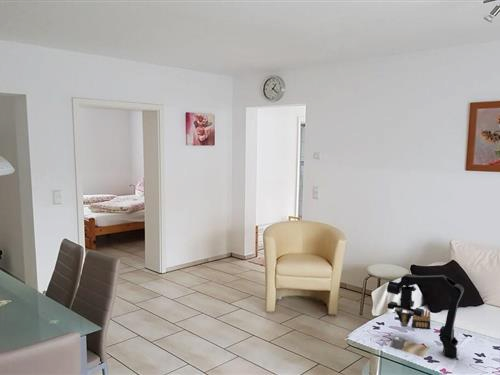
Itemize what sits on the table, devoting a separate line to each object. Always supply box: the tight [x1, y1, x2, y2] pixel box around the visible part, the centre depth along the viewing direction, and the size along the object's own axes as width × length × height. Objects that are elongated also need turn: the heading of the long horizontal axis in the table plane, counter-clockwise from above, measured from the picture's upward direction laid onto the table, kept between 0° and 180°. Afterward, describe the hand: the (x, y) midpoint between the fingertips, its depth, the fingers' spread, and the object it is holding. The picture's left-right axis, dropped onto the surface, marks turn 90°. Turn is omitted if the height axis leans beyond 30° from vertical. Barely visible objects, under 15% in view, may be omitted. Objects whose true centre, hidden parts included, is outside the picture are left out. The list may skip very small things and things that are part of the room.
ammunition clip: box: [411, 308, 431, 330], centre depth 254 cm, size 11×2×12 cm, turn 84°
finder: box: [391, 335, 405, 351], centre depth 226 cm, size 5×5×5 cm
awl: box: [400, 312, 408, 328], centre depth 232 cm, size 3×3×7 cm
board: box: [388, 339, 431, 358], centre depth 226 cm, size 18×14×1 cm
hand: (404, 323), depth 232 cm, fingers closed on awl, 3 cm apart
